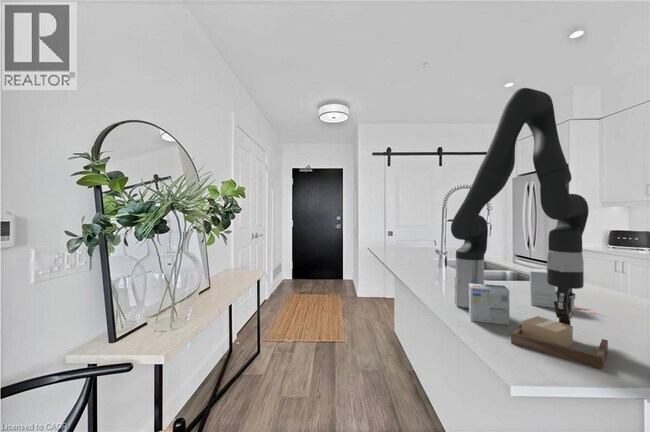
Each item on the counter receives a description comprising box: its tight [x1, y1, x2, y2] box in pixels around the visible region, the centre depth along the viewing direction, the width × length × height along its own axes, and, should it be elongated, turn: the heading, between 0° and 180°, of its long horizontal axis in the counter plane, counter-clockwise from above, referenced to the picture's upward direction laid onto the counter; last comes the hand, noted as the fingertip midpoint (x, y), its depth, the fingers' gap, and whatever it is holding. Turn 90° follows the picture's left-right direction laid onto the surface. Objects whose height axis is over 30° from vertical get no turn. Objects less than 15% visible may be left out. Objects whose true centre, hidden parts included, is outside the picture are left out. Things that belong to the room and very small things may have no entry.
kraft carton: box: [521, 315, 574, 347], centre depth 76 cm, size 8×8×5 cm
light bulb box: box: [468, 283, 511, 326], centre depth 91 cm, size 11×7×11 cm, turn 71°
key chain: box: [573, 305, 607, 318], centre depth 101 cm, size 13×7×1 cm, turn 50°
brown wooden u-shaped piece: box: [510, 324, 609, 370], centre depth 73 cm, size 13×17×2 cm
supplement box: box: [529, 268, 557, 309], centre depth 107 cm, size 7×7×13 cm
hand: (564, 332), depth 78 cm, fingers closed
